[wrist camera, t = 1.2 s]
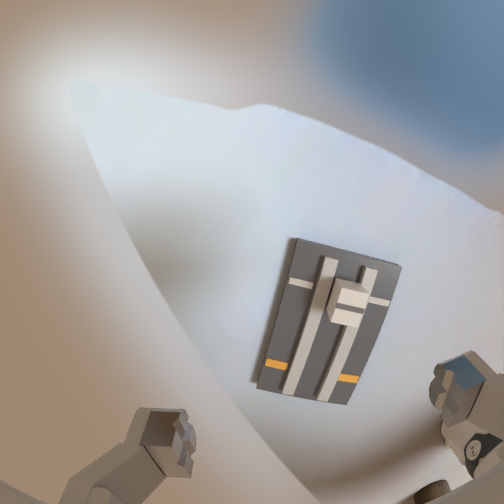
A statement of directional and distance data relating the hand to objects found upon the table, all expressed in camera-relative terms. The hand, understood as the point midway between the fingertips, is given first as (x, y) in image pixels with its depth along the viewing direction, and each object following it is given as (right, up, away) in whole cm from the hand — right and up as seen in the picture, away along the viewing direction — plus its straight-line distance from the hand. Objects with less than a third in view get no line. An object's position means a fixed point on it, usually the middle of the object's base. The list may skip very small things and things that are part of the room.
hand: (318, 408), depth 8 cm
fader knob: (+9, 0, +27) cm, 29 cm away
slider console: (+8, -6, +31) cm, 32 cm away
